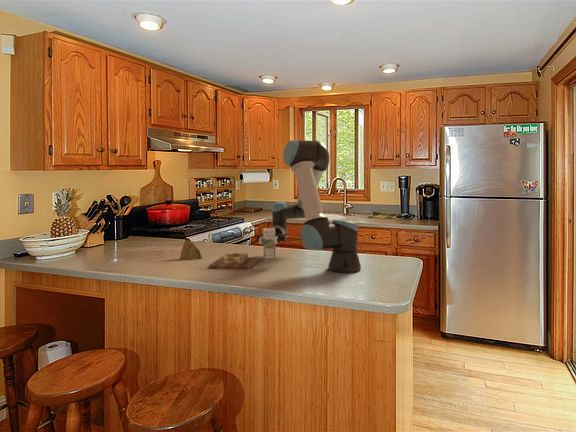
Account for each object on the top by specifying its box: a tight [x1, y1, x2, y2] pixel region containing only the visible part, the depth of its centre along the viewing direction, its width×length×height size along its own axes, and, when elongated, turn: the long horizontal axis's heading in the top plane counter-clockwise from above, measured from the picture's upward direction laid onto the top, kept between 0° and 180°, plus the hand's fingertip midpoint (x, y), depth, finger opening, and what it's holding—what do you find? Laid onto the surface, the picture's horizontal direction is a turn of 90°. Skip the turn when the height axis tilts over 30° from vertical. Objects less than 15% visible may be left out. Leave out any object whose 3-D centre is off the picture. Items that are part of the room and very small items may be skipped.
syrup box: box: [262, 227, 277, 260], centre depth 208 cm, size 6×6×14 cm
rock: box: [179, 239, 202, 261], centre depth 229 cm, size 11×9×10 cm
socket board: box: [208, 252, 260, 270], centre depth 216 cm, size 20×20×4 cm
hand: (267, 241), depth 203 cm, fingers closed on syrup box, 6 cm apart
